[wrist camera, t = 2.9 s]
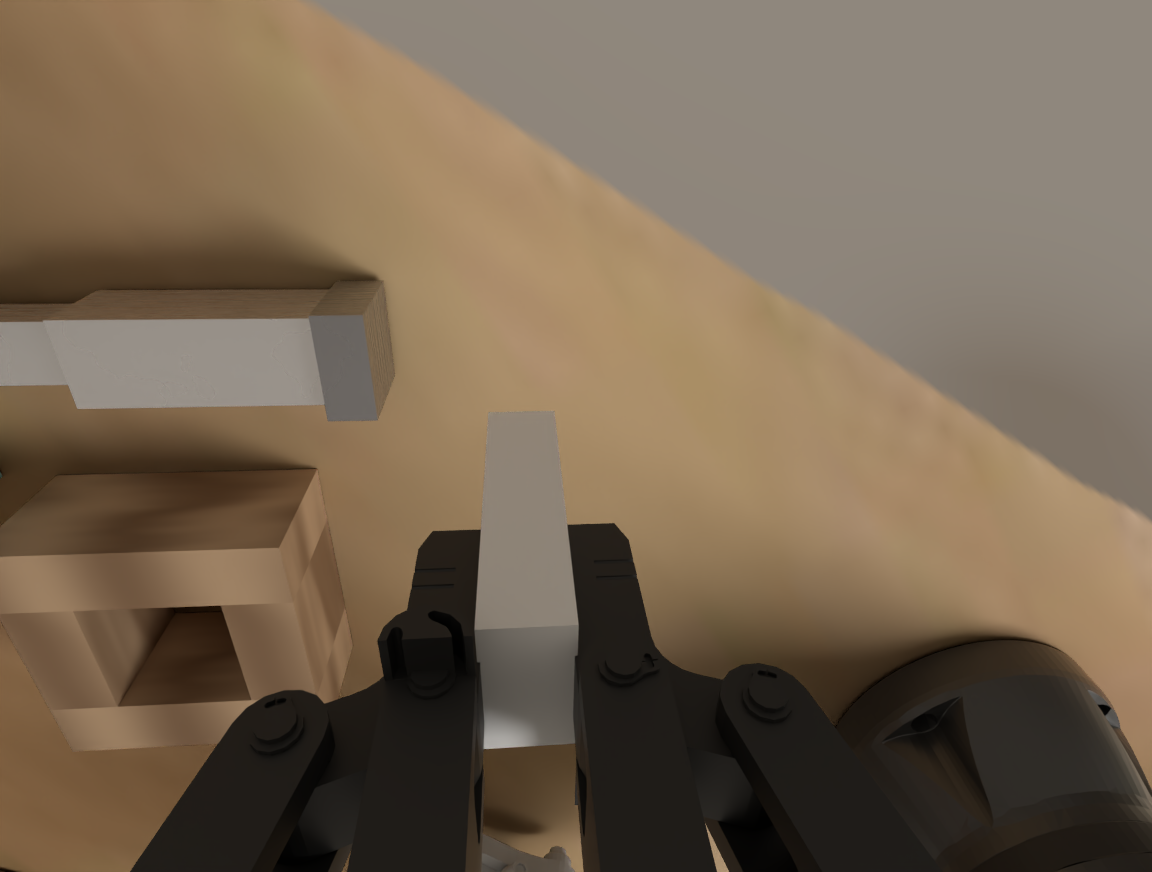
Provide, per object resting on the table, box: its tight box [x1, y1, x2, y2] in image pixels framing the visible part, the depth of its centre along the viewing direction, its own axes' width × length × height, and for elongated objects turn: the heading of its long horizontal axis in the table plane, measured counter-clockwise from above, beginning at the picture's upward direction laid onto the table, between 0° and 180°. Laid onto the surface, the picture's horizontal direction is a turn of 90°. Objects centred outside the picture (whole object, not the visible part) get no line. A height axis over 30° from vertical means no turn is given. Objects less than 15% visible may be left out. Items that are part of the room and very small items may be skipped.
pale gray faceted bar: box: [0, 281, 395, 421], centre depth 22 cm, size 14×4×4 cm, turn 89°
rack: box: [0, 469, 353, 752], centre depth 27 cm, size 10×10×5 cm
